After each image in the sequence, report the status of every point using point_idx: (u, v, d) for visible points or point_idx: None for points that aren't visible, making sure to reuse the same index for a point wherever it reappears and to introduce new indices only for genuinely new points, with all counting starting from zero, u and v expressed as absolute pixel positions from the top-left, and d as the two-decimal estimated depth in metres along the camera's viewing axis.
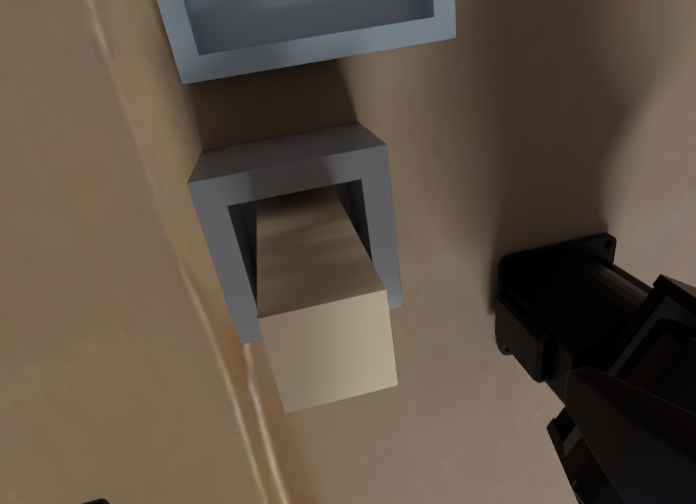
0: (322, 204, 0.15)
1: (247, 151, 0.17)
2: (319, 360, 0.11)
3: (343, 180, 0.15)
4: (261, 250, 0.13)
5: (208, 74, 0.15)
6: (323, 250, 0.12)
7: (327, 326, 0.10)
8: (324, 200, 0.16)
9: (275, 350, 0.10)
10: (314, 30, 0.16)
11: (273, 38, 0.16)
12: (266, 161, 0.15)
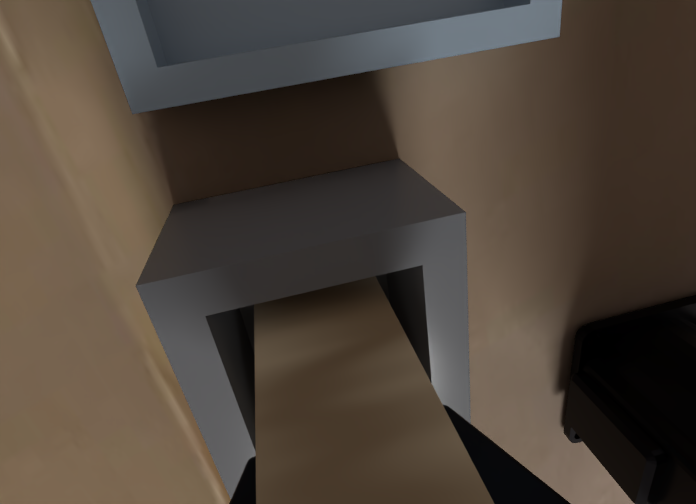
0: (357, 300, 0.10)
1: (239, 210, 0.11)
2: None
3: (394, 268, 0.09)
4: (263, 418, 0.07)
5: (174, 97, 0.09)
6: (378, 432, 0.07)
7: None
8: (359, 290, 0.10)
9: None
10: (340, 26, 0.10)
11: (277, 38, 0.10)
12: (269, 238, 0.09)
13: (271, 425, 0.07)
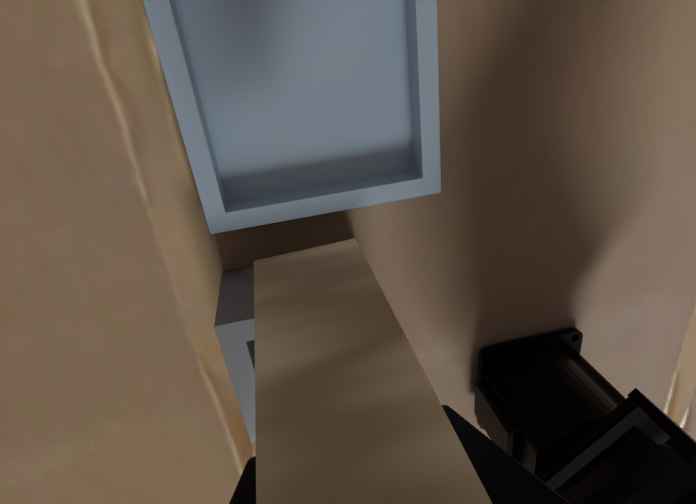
0: (357, 302, 0.10)
1: None
2: None
3: None
4: (263, 420, 0.07)
5: (232, 226, 0.18)
6: (378, 435, 0.07)
7: None
8: (359, 292, 0.10)
9: None
10: (321, 182, 0.19)
11: (287, 189, 0.19)
12: None
13: (271, 427, 0.07)
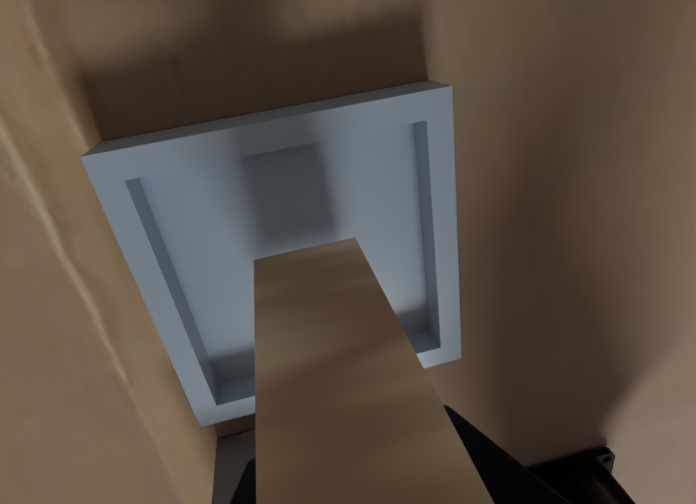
0: (357, 301, 0.10)
1: None
2: None
3: None
4: (263, 419, 0.07)
5: (225, 417, 0.16)
6: (379, 433, 0.07)
7: None
8: (360, 290, 0.10)
9: None
10: None
11: None
12: None
13: (271, 426, 0.07)
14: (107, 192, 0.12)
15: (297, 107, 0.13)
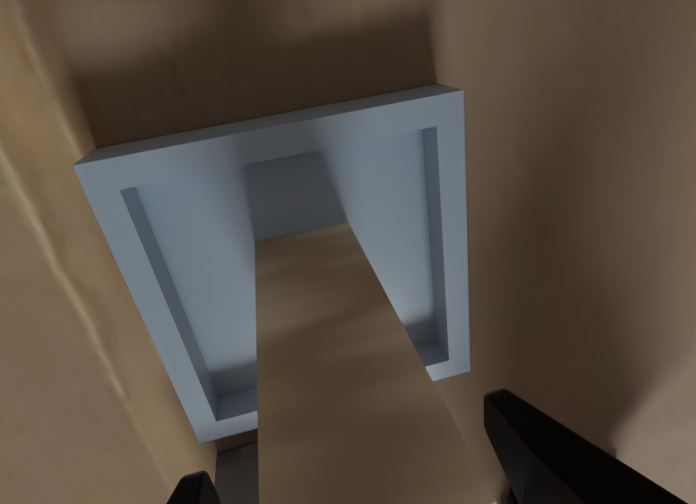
0: (348, 275, 0.11)
1: None
2: None
3: None
4: (263, 370, 0.08)
5: (225, 433, 0.15)
6: (363, 378, 0.08)
7: None
8: (351, 267, 0.11)
9: None
10: None
11: None
12: None
13: (270, 375, 0.08)
14: (101, 202, 0.11)
15: (301, 112, 0.12)
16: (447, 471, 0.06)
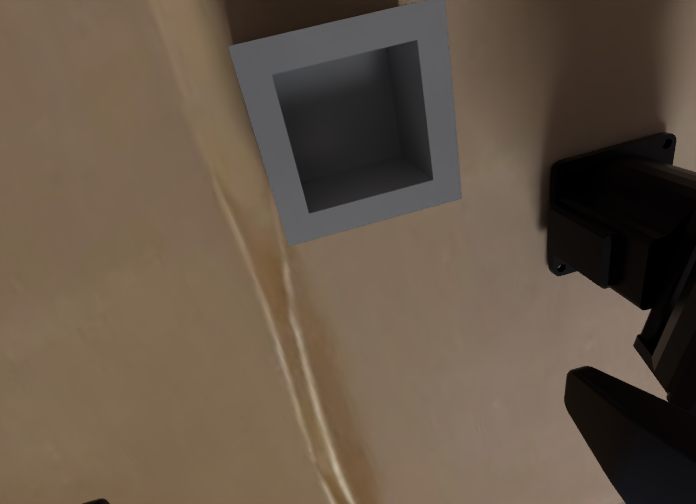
0: None
1: None
2: None
3: (398, 41, 0.13)
4: None
5: None
6: None
7: None
8: None
9: None
10: None
11: None
12: (311, 26, 0.13)
13: None
14: None
15: None
16: None
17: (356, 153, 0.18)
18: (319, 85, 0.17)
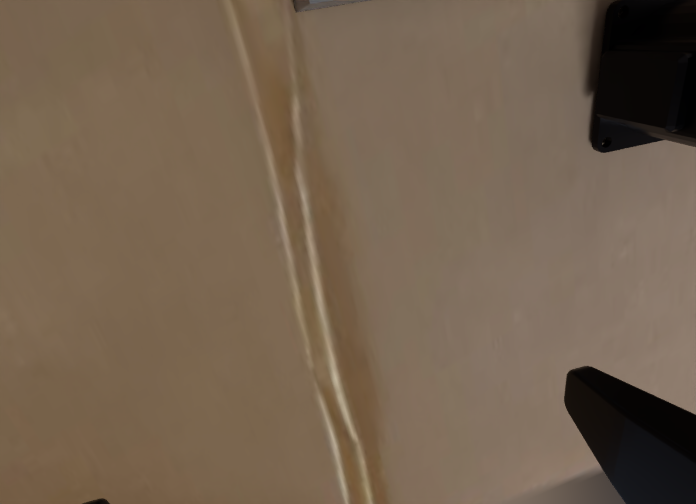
0: None
1: None
2: None
3: None
4: None
5: None
6: None
7: None
8: None
9: None
10: None
11: None
12: None
13: None
14: None
15: None
16: None
17: None
18: None
